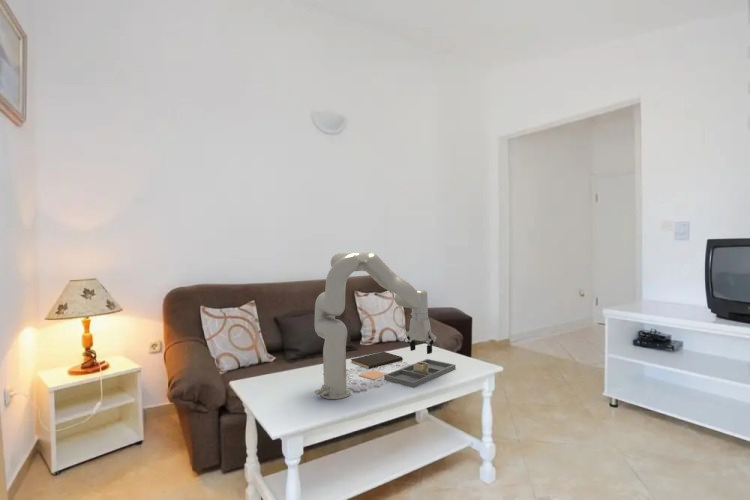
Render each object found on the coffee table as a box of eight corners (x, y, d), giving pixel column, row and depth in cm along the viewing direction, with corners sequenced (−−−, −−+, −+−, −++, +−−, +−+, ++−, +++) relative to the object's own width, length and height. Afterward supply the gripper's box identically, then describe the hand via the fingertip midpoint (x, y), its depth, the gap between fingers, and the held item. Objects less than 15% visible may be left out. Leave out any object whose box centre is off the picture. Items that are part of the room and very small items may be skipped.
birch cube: (422, 376, 193) (422, 365, 193) (413, 374, 197) (413, 363, 196) (428, 373, 197) (428, 363, 197) (419, 371, 200) (419, 361, 200)
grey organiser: (413, 388, 178) (413, 382, 178) (384, 380, 190) (384, 375, 190) (455, 369, 203) (455, 364, 203) (427, 363, 215) (427, 358, 215)
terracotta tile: (374, 380, 190) (374, 379, 190) (358, 376, 197) (358, 375, 197) (388, 375, 197) (388, 373, 197) (373, 371, 204) (372, 370, 204)
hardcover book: (350, 363, 220) (350, 359, 220) (383, 355, 235) (383, 351, 235) (369, 370, 208) (368, 365, 208) (402, 361, 222) (402, 357, 222)
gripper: (400, 315, 199) (402, 350, 200) (430, 319, 188) (431, 356, 188) (410, 313, 205) (411, 347, 205) (439, 316, 193) (440, 352, 194)
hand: (421, 351), depth 197 cm, fingers open, 9 cm apart
